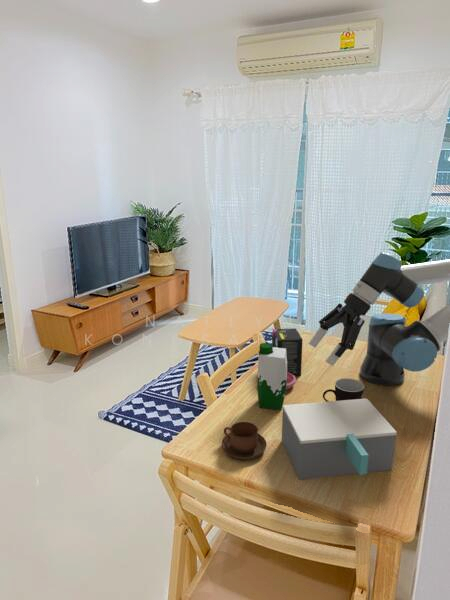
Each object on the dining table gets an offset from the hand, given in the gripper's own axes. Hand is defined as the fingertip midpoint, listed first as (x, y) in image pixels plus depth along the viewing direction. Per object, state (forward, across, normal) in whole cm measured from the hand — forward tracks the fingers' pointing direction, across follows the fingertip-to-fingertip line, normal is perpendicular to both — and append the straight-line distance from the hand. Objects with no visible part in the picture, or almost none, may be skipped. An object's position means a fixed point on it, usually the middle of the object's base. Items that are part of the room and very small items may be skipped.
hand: (320, 354), depth 137 cm
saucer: (+19, -13, +2) cm, 24 cm away
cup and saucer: (+30, +20, -14) cm, 39 cm away
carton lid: (+11, +31, 0) cm, 33 cm away
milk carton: (+22, -2, -2) cm, 22 cm away
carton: (+17, +27, +4) cm, 32 cm away
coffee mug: (+11, +8, +13) cm, 19 cm away
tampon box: (+16, -24, +8) cm, 30 cm away
